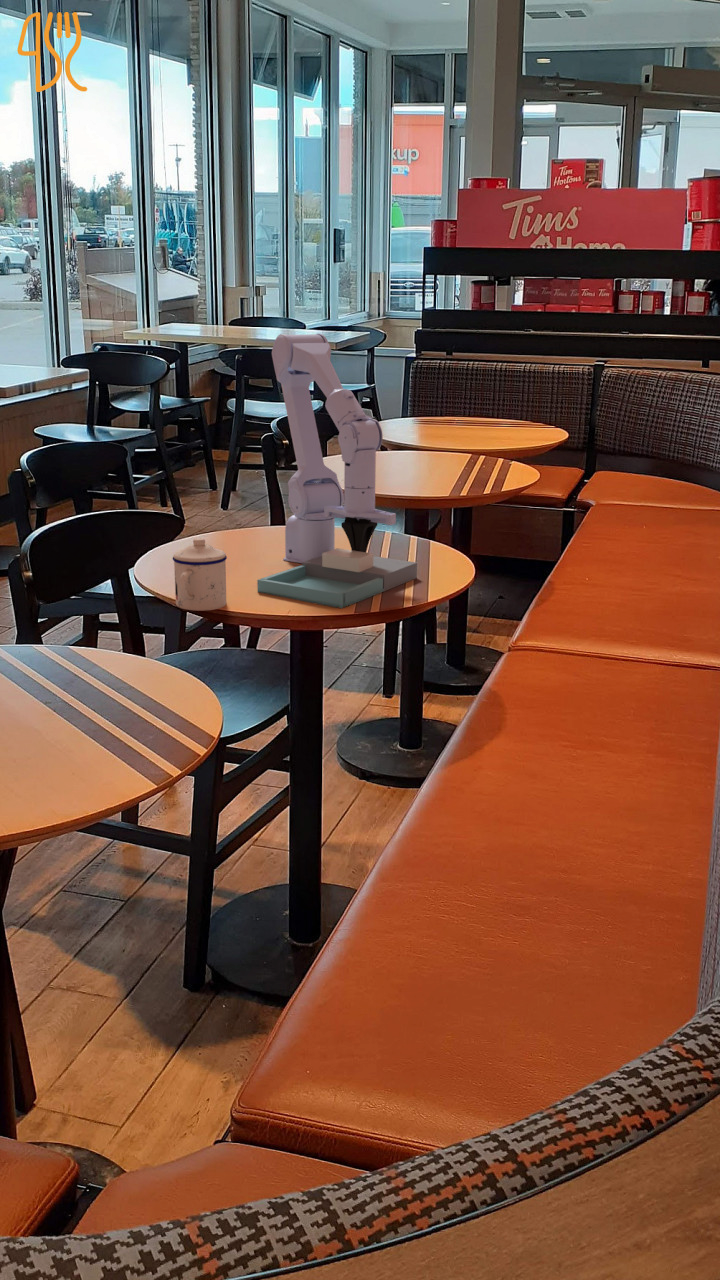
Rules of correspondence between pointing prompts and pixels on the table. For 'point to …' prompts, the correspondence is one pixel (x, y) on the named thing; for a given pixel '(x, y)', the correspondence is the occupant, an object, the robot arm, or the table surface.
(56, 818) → the table surface
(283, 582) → the tray
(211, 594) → the teacup with lid
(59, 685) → the table surface
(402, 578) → the bench plate
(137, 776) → the table surface
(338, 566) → the cream tile
